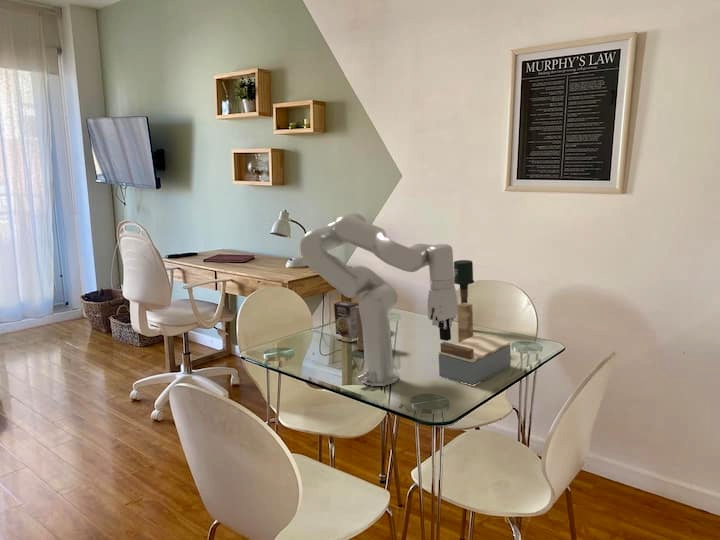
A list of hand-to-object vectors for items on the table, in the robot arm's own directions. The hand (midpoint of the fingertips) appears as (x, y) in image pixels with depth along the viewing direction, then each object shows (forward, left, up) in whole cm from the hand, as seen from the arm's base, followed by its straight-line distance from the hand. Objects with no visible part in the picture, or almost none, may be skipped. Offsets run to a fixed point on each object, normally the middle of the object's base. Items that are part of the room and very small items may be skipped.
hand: (445, 339), depth 173 cm
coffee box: (+13, +63, -17) cm, 67 cm away
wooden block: (+10, +47, -17) cm, 50 cm away
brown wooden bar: (+33, +16, -16) cm, 40 cm away
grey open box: (+16, +1, -16) cm, 23 cm away
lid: (+16, 0, -8) cm, 18 cm away
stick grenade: (+52, +32, -16) cm, 63 cm away
